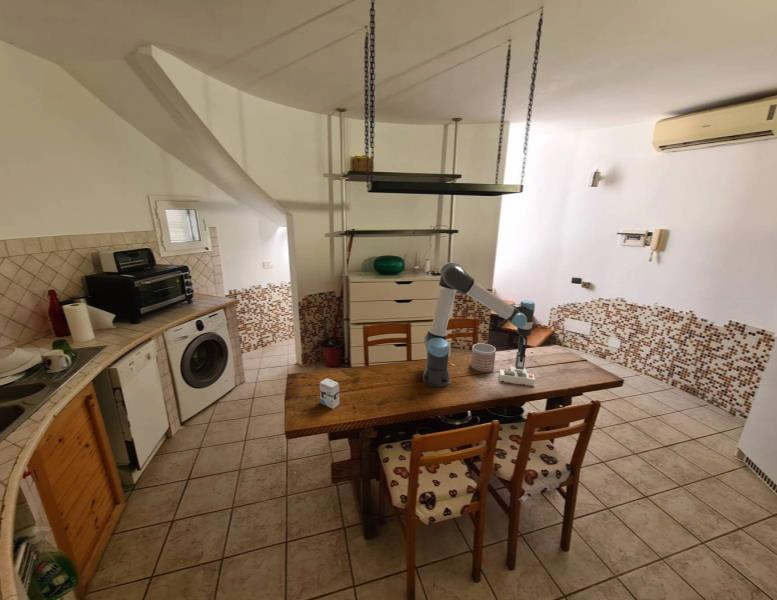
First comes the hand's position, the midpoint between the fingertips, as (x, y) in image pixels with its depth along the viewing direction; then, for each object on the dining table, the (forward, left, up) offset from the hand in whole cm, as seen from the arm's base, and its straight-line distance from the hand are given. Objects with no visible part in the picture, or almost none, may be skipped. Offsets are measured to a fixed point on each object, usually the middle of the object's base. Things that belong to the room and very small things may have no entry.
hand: (519, 364), depth 193 cm
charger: (0, 0, -2) cm, 2 cm away
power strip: (-3, -12, -5) cm, 13 cm away
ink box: (-93, -63, -5) cm, 113 cm away
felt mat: (0, 0, -5) cm, 5 cm away
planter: (-21, 0, -5) cm, 22 cm away
